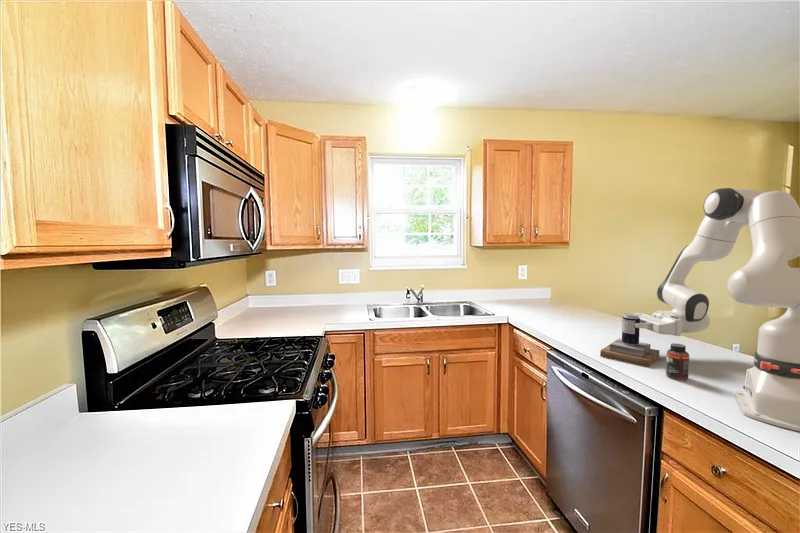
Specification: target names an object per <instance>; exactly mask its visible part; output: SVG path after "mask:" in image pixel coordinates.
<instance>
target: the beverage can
mask: <svg viewBox="0 0 800 533" xmlns="http://www.w3.org/2000/svg"><path fill="white" fill-rule="evenodd" d="M634 313H635V312H624V313H623V316H622V318H623V322H622V321H621V323H622V324H621V325H622V326H621V327H622V329H621V339H622V342H623V343H624V344H626V345H630V346H636V345H637V344H639V342H640V329H641V328H636V327H634V323H637V322H639V323H640V318H639V315H638V314H634Z"/></svg>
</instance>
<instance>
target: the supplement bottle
mask: <svg viewBox="0 0 800 533" xmlns="http://www.w3.org/2000/svg"><path fill="white" fill-rule="evenodd" d="M686 346H687V345H685V344H681V343H673V342H672V343H670V348H669V349H668V350H667V351H666V363H665V364H666V365H665V375H666V377H667V378H670V379H672V380H675V381H687V380H688V379H689V374H690V373H689V372H690V371H689V366H690V354H689V352H688V351H686V348H687V347H686Z"/></svg>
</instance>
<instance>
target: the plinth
mask: <svg viewBox="0 0 800 533" xmlns="http://www.w3.org/2000/svg"><path fill="white" fill-rule="evenodd" d="M601 356H603V357H602V358H605V357H607V358H606V359H610V358H612V359H611V360H614V359H616V360H615V361H619V360H620V361H619V362H623V363H627V364H633V365H637V366H641V367H646V368H649V367H650V366H651V365H653V363H654V362H655V361H656V360H658V359H659V358H660V349H654V348H651V343H646V342H641V341H639V344H637V345H636V346H630V345H626V344H624V343H623V342H622V338H620V337H619V338H617V339H616V340H614V341H613V342H611V343H609V344H608V345H607V346H605V347H604V348H602V349H600V356H599V357H601Z"/></svg>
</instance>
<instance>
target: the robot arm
mask: <svg viewBox="0 0 800 533" xmlns="http://www.w3.org/2000/svg"><path fill="white" fill-rule="evenodd" d="M702 205H703V212H704V214H705V215H704V218H703V219H702V221H701V223H700V225H699V227H698V230H697V232H696V234H695V237H694V238H693V240H692V241H691V243H690V244H687V245H686V246H684V247H683V249H682V250H681V251H680V252H679V254H678V256H677V257H676V258H675V261H674V263H673V265H672V266H671V267H670V270H669V271H668V273H667V275H666V276H665V279H664V280H663V281H662V282H661V283H660V284H659V286H658V287H657V291H656V296H657V298H658V300H659V301H660V302H662V303H664V304H666V305H668V306H671V307H673V309H672V310H656V311H654V312H653V313H652V314H651V315H649V314H647V313H643V312H633V313H634V314H638V315H639V318H640V323H639V322H637V323H634V327H636V328H640V329H645V330H648V331H651V332H654V333H657V334H659V335H668V336H669V335H671V336H674V337H675V336H676V337H681V334H689V333H690V334H691V333H697V332H698V333H699V332H701V331H704V330H706V329H707V328H708V327H709V326H710V323H711V318H710V316H709V314H708V311H709V307H710V300H709V297H708V296H707V295H705V294H703V293H702V292H700V291H697V290H696V289H694V288H691V287H689V286H688V285H686V283H685V280H686V278H687V277H688V275H689V273H690V272H691V270H692V268H693V267H694V266H695V264H697V263H700V262H712V261H713V262H714V261H715V262H716V261H718V260H721V259H725V258H726V257H727V256H728V255H730V253H731V252H732V250H733V248H734V247H735V246H734V245H735V244H736V241H737V240H738V236H739V234H740V231H741V229H742V228H743V227H744V226H747V225H748V228H749V232H750V233H749V234H750V239H751V244H752V245H751V246H752V252H751V253H752V254H751V257H750V259H749V261H748V262H747V263H746V264H745V265H744V266H743V267H741V268H739V269H738V270H736V271H734V272H733V273H732V274H731V275H730V276H729V278H728V281H727V291H728V293H729V295H730V296H731V298H732V299H733V300H734V301H735V302H737V303H741V304H744V305H749V306H750V305H751V306H755V307H761V308H762V307H764V308H783V309H785V308H786V309H787V310H786V311H785V312H784V314H782V315H781V316H779V317H778V318H774V319H772V320H768V321H766V322H764V323H763V324H762V325H761V326H760V327H759V328H758V334H757V348H756V351H755V352H754V355H753V366H752V367H750V368H748V369H747V368H746V376H745V384H744V385H743V387H742V388H743V390H744V391H738V390H737V391H735V392H734V397H735V399H736V401H737V403H738V406H739V408H740V411H741V413H742V415H744V416H747V417H749V418H752V419H754V420H758V421H760V422H764V423H766V424H769V425H774V426H777V427H780V428H785V429H787V430H791V431H796V432H800V267H792V266H791V267H790V266H789V264H788V261H791V260H794V259H796V258H798V257H800V206H799V204H798V203H797V201H796V200H795V198H794V197H793V196H792V195H791V194H790V193H788V192H786V191H782V190H771V191H764V190H758V189H752V188H731V187H724V188H717V189H714V190H713V191H711V192H710V193H709V194H708V195H707V196H706V197H705V200H704V202H703V204H702ZM622 322H623V317H621V323H622Z"/></svg>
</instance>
